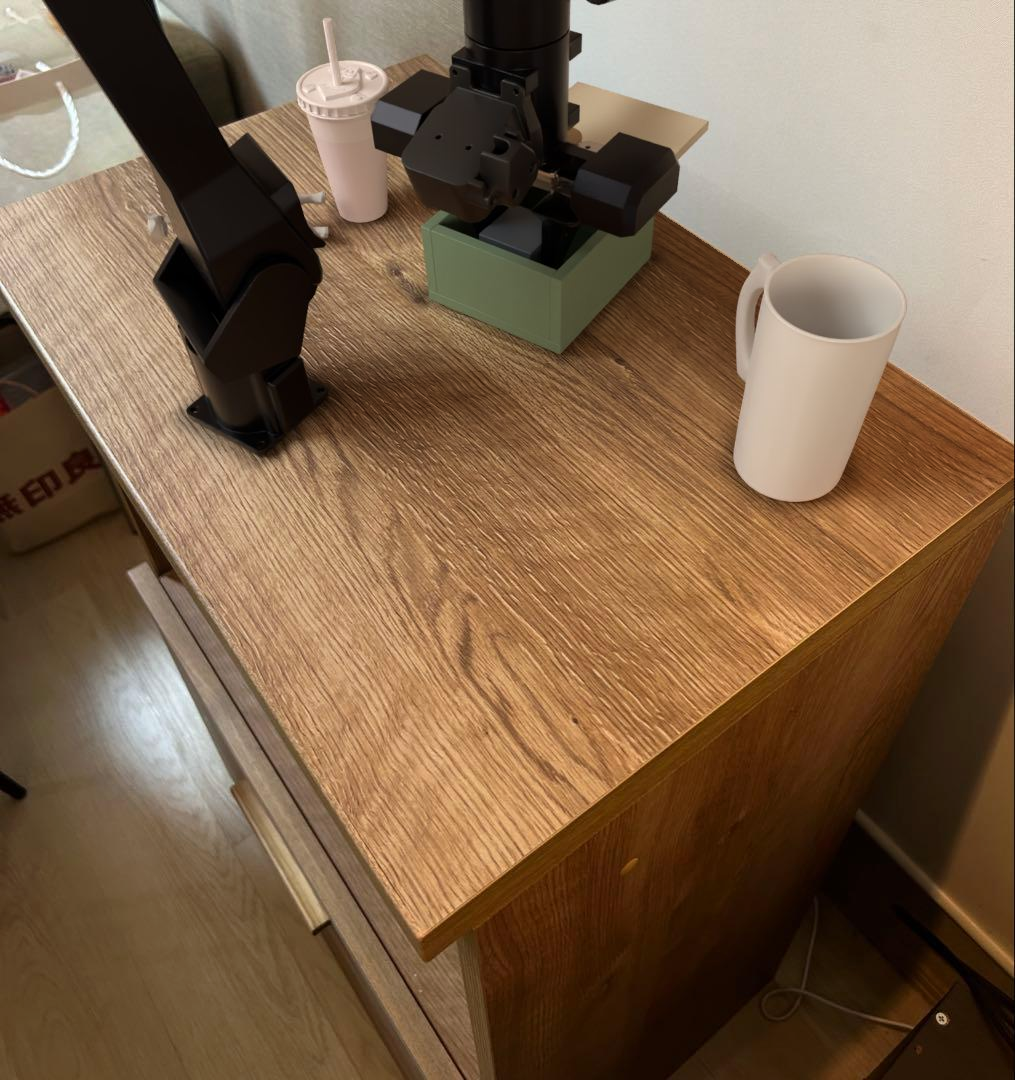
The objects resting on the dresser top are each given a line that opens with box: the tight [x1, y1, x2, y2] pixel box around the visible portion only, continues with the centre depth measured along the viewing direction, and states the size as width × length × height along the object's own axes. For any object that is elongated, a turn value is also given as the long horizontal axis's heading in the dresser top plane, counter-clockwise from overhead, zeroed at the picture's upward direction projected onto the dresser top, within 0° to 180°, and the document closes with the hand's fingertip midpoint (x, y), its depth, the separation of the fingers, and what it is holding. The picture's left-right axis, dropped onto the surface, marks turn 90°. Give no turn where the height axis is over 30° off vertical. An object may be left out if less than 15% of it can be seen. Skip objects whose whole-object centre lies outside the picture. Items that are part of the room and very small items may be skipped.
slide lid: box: [532, 81, 710, 192], centre depth 66 cm, size 11×12×3 cm
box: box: [420, 186, 656, 355], centre depth 66 cm, size 11×12×6 cm
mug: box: [732, 252, 908, 503], centre depth 53 cm, size 10×7×12 cm, turn 25°
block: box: [479, 205, 564, 268], centre depth 64 cm, size 4×4×4 cm
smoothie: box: [295, 17, 392, 224], centre depth 68 cm, size 6×6×14 cm
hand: (522, 267), depth 65 cm, fingers closed on block, 4 cm apart
